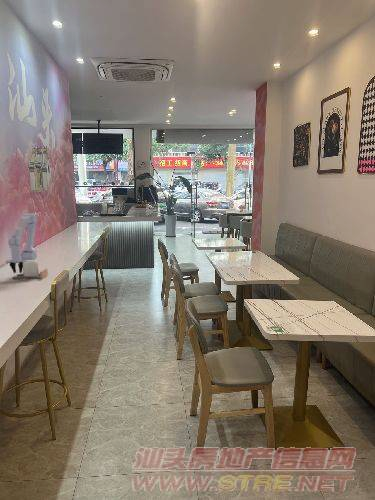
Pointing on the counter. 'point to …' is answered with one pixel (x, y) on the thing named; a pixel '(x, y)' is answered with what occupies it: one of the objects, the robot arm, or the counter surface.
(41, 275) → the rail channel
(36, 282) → the counter surface
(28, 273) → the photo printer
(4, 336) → the counter surface
